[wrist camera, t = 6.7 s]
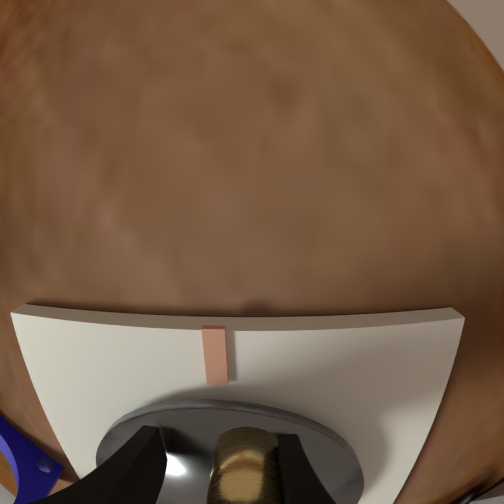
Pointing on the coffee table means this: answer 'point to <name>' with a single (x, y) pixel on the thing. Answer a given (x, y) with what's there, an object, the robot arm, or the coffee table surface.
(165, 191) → the coffee table surface
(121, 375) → the wheel base
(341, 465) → the handwheel
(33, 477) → the cable clip
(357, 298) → the coffee table surface
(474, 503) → the die
